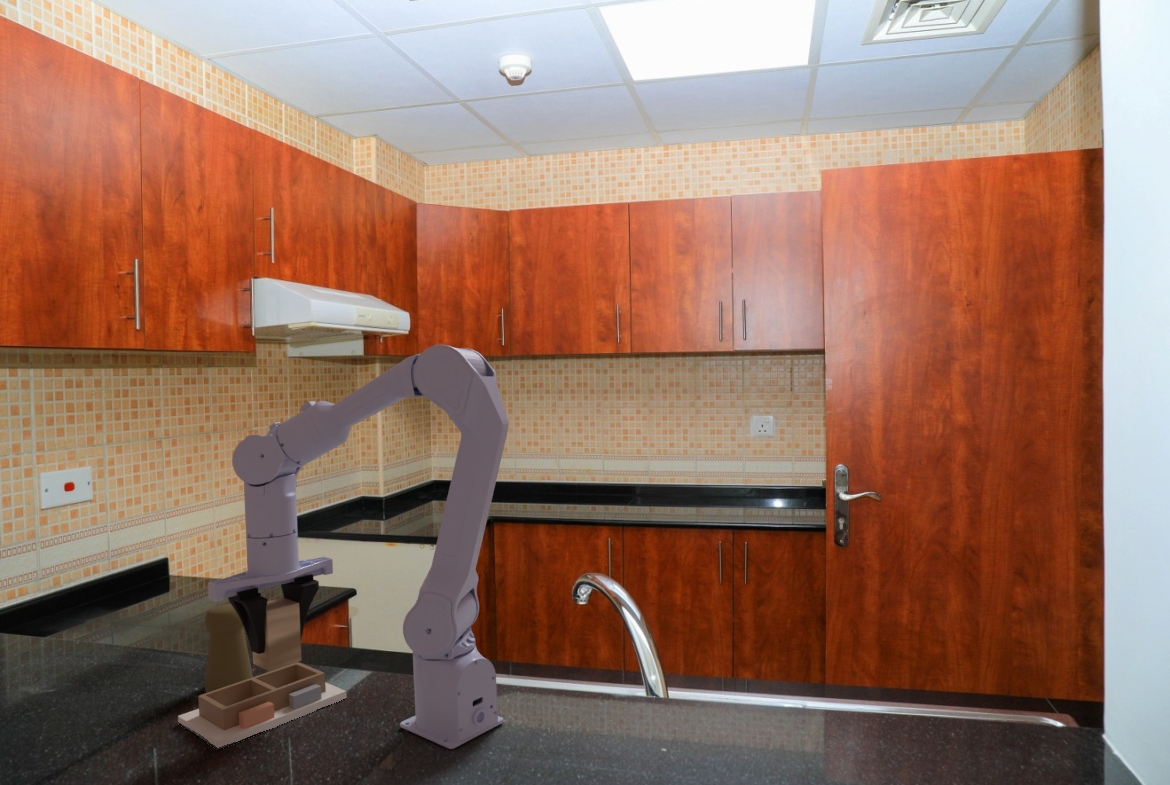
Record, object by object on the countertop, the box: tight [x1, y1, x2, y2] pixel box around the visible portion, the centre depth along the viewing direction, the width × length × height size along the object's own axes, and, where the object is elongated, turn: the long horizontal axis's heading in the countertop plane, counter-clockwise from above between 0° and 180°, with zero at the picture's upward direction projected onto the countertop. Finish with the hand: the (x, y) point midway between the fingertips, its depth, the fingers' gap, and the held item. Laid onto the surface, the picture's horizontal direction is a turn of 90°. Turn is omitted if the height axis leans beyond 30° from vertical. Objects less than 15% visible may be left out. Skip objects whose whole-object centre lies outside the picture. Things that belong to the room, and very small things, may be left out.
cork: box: [204, 603, 254, 692], centre depth 99 cm, size 6×6×11 cm
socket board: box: [177, 661, 347, 748], centre depth 90 cm, size 11×16×3 cm
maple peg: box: [252, 597, 302, 672], centre depth 88 cm, size 4×4×7 cm
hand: (276, 645), depth 88 cm, fingers closed on maple peg, 4 cm apart
